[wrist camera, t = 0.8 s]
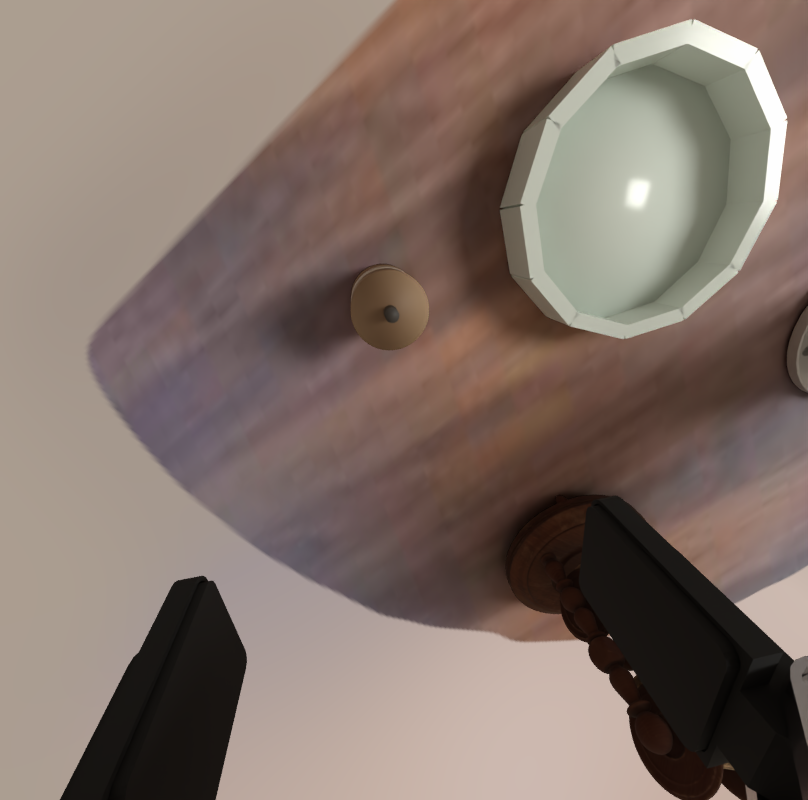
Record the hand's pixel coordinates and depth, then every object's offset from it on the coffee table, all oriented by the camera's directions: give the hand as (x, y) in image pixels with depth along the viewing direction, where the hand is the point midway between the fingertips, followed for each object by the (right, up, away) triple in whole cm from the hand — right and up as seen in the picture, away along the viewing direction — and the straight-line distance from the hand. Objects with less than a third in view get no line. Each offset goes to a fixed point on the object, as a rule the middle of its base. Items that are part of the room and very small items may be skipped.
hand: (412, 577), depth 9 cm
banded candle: (-2, +12, +18) cm, 22 cm away
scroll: (+17, -11, +31) cm, 37 cm away
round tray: (+15, +18, +17) cm, 30 cm away
